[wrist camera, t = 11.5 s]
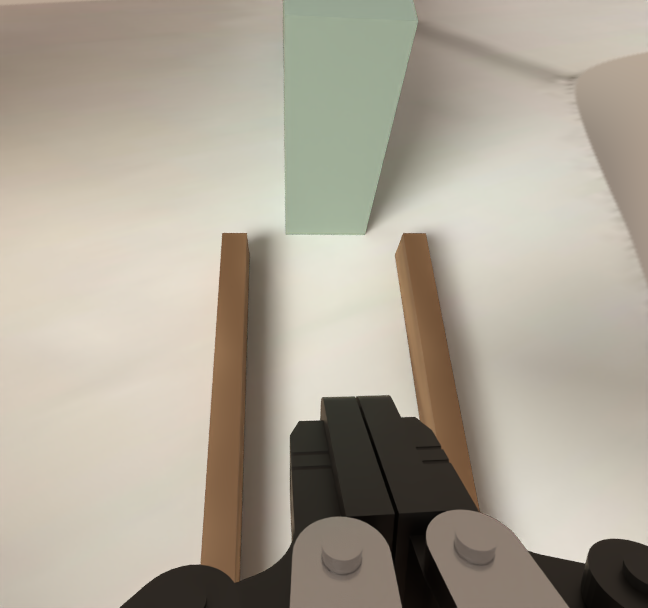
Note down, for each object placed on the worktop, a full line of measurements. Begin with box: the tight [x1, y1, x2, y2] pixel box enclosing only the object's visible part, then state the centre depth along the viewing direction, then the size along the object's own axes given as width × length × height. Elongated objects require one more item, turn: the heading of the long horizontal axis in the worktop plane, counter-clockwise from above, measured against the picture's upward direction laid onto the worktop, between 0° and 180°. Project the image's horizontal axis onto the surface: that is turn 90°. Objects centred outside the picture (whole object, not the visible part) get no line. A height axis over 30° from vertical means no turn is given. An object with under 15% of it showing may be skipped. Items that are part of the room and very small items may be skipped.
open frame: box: [201, 233, 480, 583], centre depth 19 cm, size 10×22×2 cm, turn 3°
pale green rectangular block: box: [283, 0, 418, 235], centre depth 25 cm, size 4×18×12 cm, turn 3°
